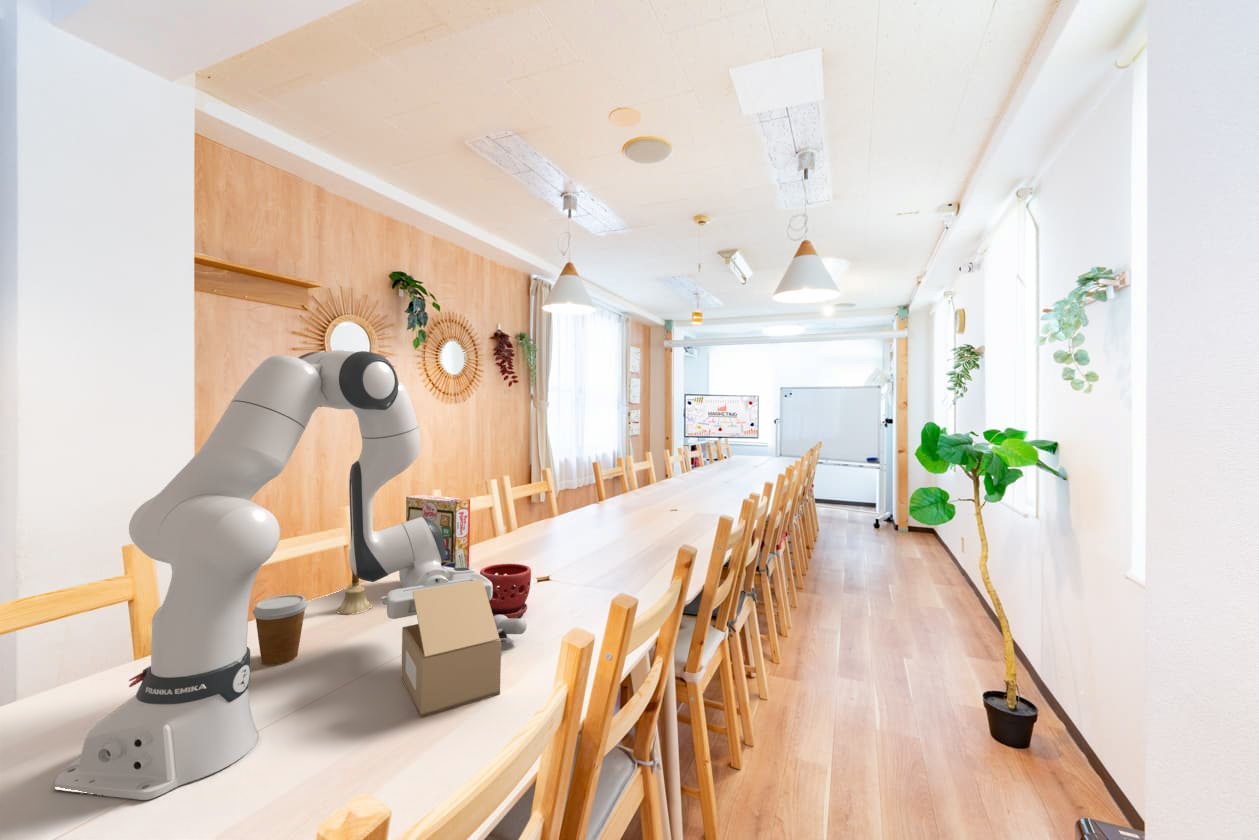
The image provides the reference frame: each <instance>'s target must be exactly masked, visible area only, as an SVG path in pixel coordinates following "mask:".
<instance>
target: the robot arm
mask: <svg viewBox="0 0 1259 840" xmlns="http://www.w3.org/2000/svg"><path fill="white" fill-rule="evenodd" d="M407 390H408V389H407V387H406V386H405V384H404V383H402V382H401V381H400V380H399V378H398V374H397V373H396V370H395V368H394V366H393V365H392V363H391V362H390V360H388V359H387V358H386V357H384V356H383V355H380V354H378V353H375V352H370V351H366V350H365V351H363V350H362V351H361V350H360V351H352V350H344V349H343V350H341V349H338V350H337V349H336V350H326V351H325V350H324V351H320V352H319V351H313V352H309V353H305V354H303V355H299V356H298V357H296V356H292V355H288V354H277V355H271V356H270V357H267V358H266V359H265V360H263V361H262V362H261V363H260V364H259V365H258V366H257V367H256V368H255V369H254V370H253V371H252V373H251V374H250V375H249V376H248V377H247V378H246V380H245V381H244V382H243V384H242V385H241V386H240V388H239V389H238V390H237V392H236V393H235V395H234V397H233V398H232V399H231V401H230V402H229V404H228V406H227V407H226V409H225V411H224V412H223V414H222V416H221V417H220V419H219V420H218V421H217V424H216V425H215V427H214V428H213V430H212V432H211V433H210V434H209V436H208V438H207V440H206V441H205V442H204V444H203V445H202V446H201V448H200V449H199V450H198V452H196V454H195V455H194V456H193V457H192V458H191V460H189V461H188V463H186V465H185V466H183V468H182V469H181V470H180V471H179V472H178V473H177V474H176V475H175V476H174V477H173V478H172V479H171V480H170V482H169V483H167V485H166V486H165V487H164V488H163V489H162V490H160V492H159V493H157V494H156V495H155V496H153V497H152V498H150V499H148V500H146V501H145V502H143V504H141V505H140V506H139V507H138V508H137V509H136V511H135V512H134V513H133V514H132V516H131V519H130V521H129V525H128V533H129V536H130V539H131V541H132V543H133V544H134V545H135V546H136V547H137V548H138V549H139V551H141V552H143V554H145V556H147V557H149V558H150V559H152V560H155V561H158V562H162V563H166V564H169V565H170V568H171V579H170V582H169V587H168V590H167V592H166V595H165V598H164V601H163V603H162V604H161V606H159V607H158V608H157V610H156V611H155V612H154V614H153V616H152V618H151V643H150V644H151V646H150V647H151V650H150V651H151V652H150V655H151V656H150V666H147V667H146V668H144V669H143V670H142V672H140V673H139V674H137V675H134V676H133V677H132V678H130V679H128V682H131V683H130V684H129V685H128V688H131V687H134V686H135V685H137V684H139V683H140V685H139V687H138V690H137V691H136V694H134V695H133V696H131V698H129V699H128V700H126V701H125V702H124V703H122V704H121V705H120V706H119V707H117V708H115V710H113V711H112V712H111V713H110V714H108V715H107V716H105V717H104V718H102V720H100V721H99V722H98V723H96V725H94V727H93V728H92V729H91V730H90V731H89V733H88V734H87V736H86V738H85V740H84V743H83V745H82V749H81V754H80V756H79V757H77V758H76V759H75V760H73V761H72V762H71V763H70V764H69V765H67V766H66V767H65V768H64V769H63V770H62V771H61V773H59V774H58V776H57V777H56V780H55V782H54V785H53V787H54V786H55V787H60V788H65V789H71V790H78V791H82V792H87V793H93V794H97V795H96V796H102V795H103V797H104V796H105V797H113V798H121V799H131V800H141V801H147V800H151V799H155V798H157V797H158V796H161V795H163V794H166V793H168V792H170V791H171V790H174V789H175V788H177V787H179V786H181V785H182V786H183V785H185V784H188V783H191V782H195V781H197V780H199V779H200V780H201V779H202V778H205V777H207V776H210V775H212V774H214V773H217V772H219V771H221V770H223V769H225V768H226V767H228V766H230V765H232V764H234V763H235V762H237V761H238V760H240V759H241V758H242V757H244V756H245V755H247V753H249V752H250V751H251V750H252V749H253V747H254V746H255V745H256V743H257V741H258V739H259V733H258V730H257V727H256V725H255V722H254V718H253V714H252V710H251V704H250V703H251V702H250V696H249V684H250V677H251V649H250V647H249V646H248V629H249V628H248V626H249V609H250V608H249V606H250V600H251V594H252V591H253V588H254V584H255V581H256V578H257V577H258V573H259V571H260V568H261V567H262V565H264V564H265V563H266V562H267V561H268V560H269V559H270V558H271V557H272V556H273V554H274V553H275V551H276V549H277V547H278V545H279V542H280V538H281V528H280V524H279V521H278V519H277V517H276V516H275V515H274V514H273V513H272V512H271V511H269V510H267V509H266V508H265V507H263V506H261V505H259V504H257V503H256V502H254V501H251V499H253V497H254V496H255V495H256V494H257V493H258V492H259V491H260V490H261V489H262V488H263V487H264V486H265V485H266V484H268V483H269V482H271V481H272V480H274V479H275V478H277V477H278V476H279V475H280V474H281V473H283V471H284V470H285V468H286V466H288V465H287V464H288V463H289V460H290V459H291V457H292V455H293V453H294V451H295V450H296V447H297V445H298V444H299V442H300V440H301V438H302V436H303V435H304V432H305V430H306V429H307V426H308V424H309V422H310V420H311V417H312V415H313V414H314V412H315V411H316V410H317V409H318V408H319V407H320V408H321V407H325V408H331V409H336V410H352V412H354V414H355V415H356V417H357V421H358V427H359V431H360V433H359V434H360V438H361V444H362V445H361V451H360V454H359V458H357V460H356V461H355V462H353V464H351V467H350V470H349V471H350V472H349V481H348V482H349V485H348V486H349V490H348V493H349V495H348V496H349V521H350V522H349V523H350V525H349V526H350V545H349V552H348V553H349V555H348V556H349V557H348V558H349V560H348V561H349V565H350V569H352V570H351V572H352V571H353V573H354V574H355V576H356V577H357V578H359V580H362V581H365V582H369V583H370V582H371V583H375V582H376V581H379V580H381V579H383V578H386V577H388V576H389V575H391V574H394V573H397V572H398V576H399V581H400V584H401V586H402V587H400V588H396V589H392V590H389V592H388V593H387V594H386V595H383V596H381V597H380V601H381V603H382V605H385V606H386V615H387V617H388V618H389V619H392V620H398V619H402V618H407V617H408V618H409V617H412V616H417V614H416V608H415V603H414V597H413V591H415V590H421V589H427V588H433V587H439V586H445V585H451V584H457V583H463V582H469V581H475V580H481V579H482V580H483V583H484V586H485V590H486V593H487V597H488V600H489V601H490V600H491V599H492V595H493V585H492V582H491V581H490V580H488V579H487V578H486V577H484V576H483V575H480V573H477V572H476V570H475V569H474V568H473V567H469V568H451V567H445V566H441V563H443V561H444V558H445V554H446V547H445V541H444V538H443V535H442V533H441V531H440V529H439V527H438V526H437V525H436V524H435V523H434V522H433V521H431V520H430V519H428V518H425V517H420V518H416V519H413V520H410V521H407V522H406V521H403V522H402V523H398V524H396V525H392V526H390V527H387V528H384V529H381V530H376V531H375V530H374V516H373V512H374V511H373V510H374V509H373V502H374V497H375V496H376V494H377V492H378V491H379V490H380V489H381V488H382V487H383V486H384V485H386V483H388V482H389V481H390V480H392V479H393V478H395V477H397V476H398V475H400V474H402V473H403V472H404V471H405V470H407V469H408V468H409V467H410V466H411V465H412V464H413V463H414V462H415V460H416V459H417V458H418V456H419V454H420V451H421V449H422V448H421V445H422V444H421V443H422V441H421V433H420V428H419V425H418V423H419V422H418V420H417V416H416V412H415V408H414V405H413V403H412V400H411V397H410V395H409V393H408V391H407ZM93 794H92V795H93Z"/></svg>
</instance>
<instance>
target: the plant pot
mask: <svg viewBox="0 0 1259 840" xmlns="http://www.w3.org/2000/svg"><path fill="white" fill-rule="evenodd" d="M531 569H532V568H531V567H530V566H528V565H525V564H521V563H498V564H497V563H496V564H492V565H489V566H485V567H482V568H481V569H480V572H479V574H480V575H483V576H484V577H486V578H487V579H488V580H490V581H491V582H492V585H493V595H492V599H491V600H490V601H489V604H490V607H491V610H492V614H493V617H494V616H496V615H504V616H506V617H507V618H519V617H521V616H522V615H524V614H525V613H526V612H527V610H528V604H527V603H526V602H527V599H528V597H529V594H530V590H531V589H530V588H531V580H532V570H531Z"/></svg>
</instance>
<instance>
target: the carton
mask: <svg viewBox="0 0 1259 840" xmlns="http://www.w3.org/2000/svg"><path fill="white" fill-rule="evenodd" d="M401 633H402V634H401V638H402V639H401V675H400V676H401V677H400V678H401V681H402V682H403V684H404V686H405V688H406V690H407V693H408V695H409V697H410V698H411V701H412V703H413V705H414V707H415V709H416V711H417V713H418V715H419V717H420V719H423V718H426V717H429V716H433V715H436V714H439V713H442V712H445V711H449V710H452V709H455V708H458V707H462V706H466V705H467V704H472V703H475V702H478V701H481V700H485V699H488V698H491V697H494V696H497V695H498V696H499V695H500V694H501V670H502V669H501V666H502V664H501V663H502V661H501V660H502V643H501V640H500V639H499V640H496V641H492V642H487V643H483V644H479V645H475V646H471V647H467V648H463V649H458V650H454V651H450V652H446V653H442V654H438V655H434V656H429V657H424V651H423V646H422V641H421V635H420V630H419V624H418V623H416V624H411V625H407V626H402V629H401Z"/></svg>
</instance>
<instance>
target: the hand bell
mask: <svg viewBox="0 0 1259 840" xmlns="http://www.w3.org/2000/svg"><path fill="white" fill-rule="evenodd" d="M350 569H351V568H350ZM351 574H352V576H351V586H350V587H347V588H346V589H345V592H344V594H345V595H344V597H343V601H342V603H341V604H340V605H339V606H338V607H337V609H336V613H337V612H339V613H341V614H340V615H343V614H352V613H357V612H361V611H364V610H366V609H368V608H369V607H371V605H372V603H371V602H369V601H368V598H367V596H366V592H365V591H366V589H365V587H364V586H362V585H360V579H359V578H357V577H356V576H355V574H354V573H353V571H352V569H351ZM339 613H338V614H339ZM352 615H353V614H352Z"/></svg>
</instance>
